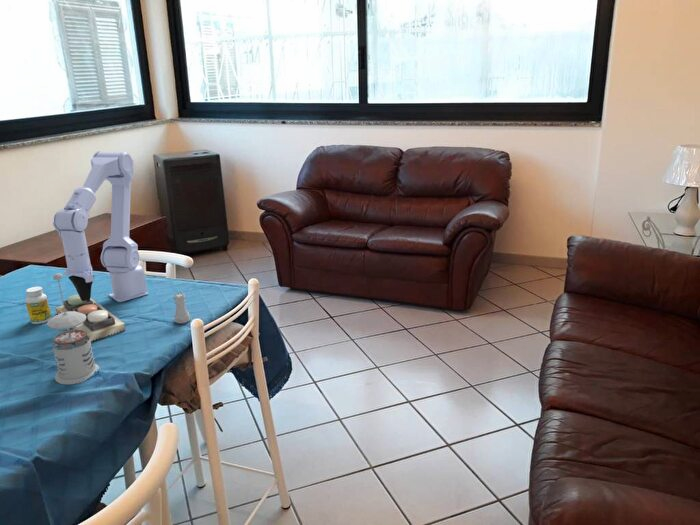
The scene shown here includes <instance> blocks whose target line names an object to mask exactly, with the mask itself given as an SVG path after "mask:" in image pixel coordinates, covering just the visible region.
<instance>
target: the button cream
mask: <svg viewBox="0 0 700 525" xmlns="http://www.w3.org/2000/svg"><path fill="white" fill-rule="evenodd" d="M107 311H108V310H107ZM107 311H105V310H97V311H93V312H91V313H89V314H88V315H87V317H88V322H90V323H91V324H94V323H98V322H101V321H104V320H107V319H109V318H108V312H107Z"/></svg>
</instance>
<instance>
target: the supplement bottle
mask: <svg viewBox="0 0 700 525" xmlns="http://www.w3.org/2000/svg"><path fill="white" fill-rule="evenodd" d="M25 294H26V296H27V297H26V298H25V301H24V302H25V305H26V310H27V313H28V317H29V321H30V323H31V324H33V325H41V323H42V324H45V323H48V321H49V320H50V319H51V318H52V313H51V308H50V305H49V300H48V297H47V295H46V294H45V293H44V292H43V287H42V286H32V287H30V288H29V287H28V288H27V289H26V290H25Z"/></svg>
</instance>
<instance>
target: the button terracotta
mask: <svg viewBox="0 0 700 525" xmlns="http://www.w3.org/2000/svg"><path fill="white" fill-rule="evenodd" d="M77 310H78V312H79V313H82V314H87V313H90V312H93V311H97V310H98V309H97V305H94V304H89V305H84V306H81V307H79V308H78V309H77Z"/></svg>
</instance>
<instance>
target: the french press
mask: <svg viewBox="0 0 700 525" xmlns="http://www.w3.org/2000/svg"><path fill="white" fill-rule="evenodd" d="M52 276H53V277H52V278H53V280H54V281H57V283H58V288H59V292H60V298H61V300H62V301H61V302H62V306H63V307H64V302H63V301H64V299H63V298H64V297H63V291H62V288H61V283H60V280H62V279H63V274H62V273H60V272H58V273H54V274H53V275H52ZM85 320H86V315H85V314H82V313H79V312H75V311H69V312H66V311H65V307H64V313H60V314H58V315H57V314H56V315H53V317H52V316H51V319H50V320H49V321H47V322H46V325H47V327H49V328H50V329H52V330H65V331H62V332H59V333H57V334H55V336H54V337H53V338H52V342H53V344H52V351H53V355H54V360H55V364H56V368H57V373H56V375H55V376H54V380H55V382H56V383H58V384H61V385H74V384H76V383H77V384H80V383H79V382H81V383H83V382H82V381H84V380H86V379H87V378H89V377H90V376H92V375H93V374H94V372H95V371H97V369H99V367H100V365H99V364H97V363H95V359H94V352H93V348H92V341H90V338H89V337H88V336H87V332H86V331H85V330H82V329H81V330H79V329H76V326H78V325H80V324H82V323H83V322H85ZM72 327H75V329H73V328H72ZM86 340H89V341H88V342H87V341H86ZM73 344H75V348H73ZM59 346H60V347H59ZM56 347H58V348H56ZM89 351H90V352H89ZM57 358H58V359H57ZM98 365H99V366H98ZM84 382H85V381H84Z"/></svg>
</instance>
